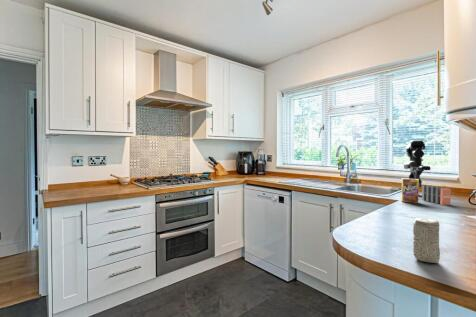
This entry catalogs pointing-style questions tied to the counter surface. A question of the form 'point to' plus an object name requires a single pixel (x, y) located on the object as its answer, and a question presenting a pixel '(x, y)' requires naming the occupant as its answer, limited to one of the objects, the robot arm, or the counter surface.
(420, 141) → the robot arm
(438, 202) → the domino
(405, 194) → the candy box
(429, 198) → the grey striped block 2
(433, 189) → the domino
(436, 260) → the carving
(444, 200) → the end domino
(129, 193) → the counter surface
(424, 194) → the domino
